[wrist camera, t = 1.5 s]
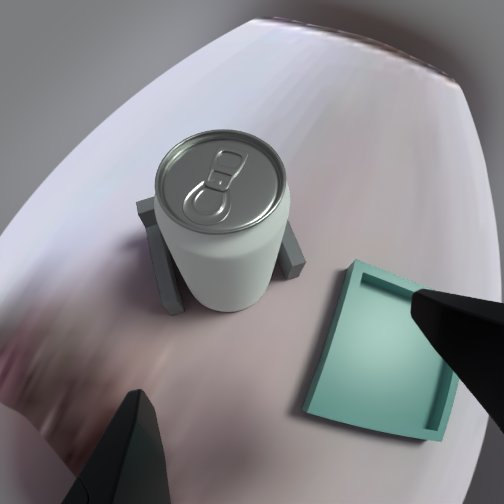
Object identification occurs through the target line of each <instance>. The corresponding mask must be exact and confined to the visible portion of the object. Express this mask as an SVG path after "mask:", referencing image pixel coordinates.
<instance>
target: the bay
mask: <svg viewBox="0 0 504 504" xmlns="http://www.w3.org/2000/svg"><path fill="white" fill-rule="evenodd" d="M154 198H155V196H154V197H151V198H148V199H145V200H141V201H138V202H136V205H137V211H138V215H139V217H140V219H141V221H142V222H143V224H144V226H145V228H146V233H147V238H148V243H149V248H150V253H151V258H152V262H153V267H154V271H155V276H156V280H157V284H158V289H159V293H160V297H161V301H162V305H163V307H164V308H165V309H166V310H167V311H168V312H169V313H170V314H171V315H176V314H179V313H182V312H185V311H184V307H183V304H182V300H181V297H180V293H179V289H178V285H177V282H176V278H175V274H174V270H173V266H172V262H171V258H170V254H169V250H168V246H167V244H166V242H165V240H164V237H163V235H162V233H161V231H160V228H159V226H158V223H157V220H156V216H155V210H154ZM277 258H278V261H279V263H280V266H281V268H282V271H283V273H284V276H285V278H286V280H289V279H292V278H295V277H298V276H299V274H300V272H301V271H302V269H303V267H304V265H305V263H306V261H305V258H304V256H303V254H302V251H301V249H300V247H299V244H298V242H297V240H296V238H295V235H294V233H293V231H292V228H291V226H290V224H289V222H288V219H287V223H286V227H285V231H284V234H283V238H282V242H281V245H280V249H279V252H278V256H277Z"/></svg>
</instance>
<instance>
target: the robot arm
mask: <svg viewBox="0 0 504 504" xmlns="http://www.w3.org/2000/svg"><path fill="white" fill-rule="evenodd" d="M410 314H411V317H412V319H413V321H414V322H415V323H416V325H417V326H418V327H419V329H420V330H421V332H422V333H423V334H424V336H425V337H426V338H427V340H428V341H429V343H430V344H431V345H432V347H433V348H434V349H435V351H436V352H437V353H438V354H439V355H440V356H441V358H442V359H443V360H444V361H445V362H446V363H447V364H448V366H449V367H450V368H451V369H452V370H453V371H454V373H455V374H456V375H457V376H458V377H459V379H460V380H461V381H462V382H463V383H464V384H465V386H466V387H467V388H468V389H469V390H470V392H471V393H472V394H473V395H474V397H475V398H476V399H477V400H478V402H479V403H480V404H481V405H482V406H483V408H484V409H485V410H486V412H487V413H488V414H489V415H490V417H491V418H492V419H493V420H494V422H495V423H496V424H497V426H498V427H500V430H501V431H502V432H503V434H504V303H499V302H494V301H488V300H483V299H477V298H472V297H466V296H461V295H456V294H450V293H445V292H439V291H434V290H429V289H419V290H417V291H415V292H414V293H413V294H412V298H411V310H410ZM61 504H171V502H170V495H169V487H168V480H167V471H166V463H165V455H164V450H163V446H162V441H161V436H160V432H159V427H158V422H157V417H156V412H155V409H154V407H153V405H152V403H151V402H150V400H149V399H148V397H147V396H146V394H145V392H144V391H143V390H142V389H137V390H132V391H129V392H128V393H127V395H126V396H125V398H124V400H123V401H122V403H121V405H120V406H119V408H118V410H117V411H116V413H115V414H114V416H113V418H112V419H111V421H110V423H109V424H108V426H107V428H106V429H105V431H104V433H103V434H102V436H101V438H100V439H99V441H98V443H97V444H96V446H95V448H94V449H93V451H92V453H91V454H90V456H89V458H88V460H87V461H86V463H85V465H84V466H83V468H82V470H81V471H80V473H79V477H77V478H76V480H75V482H74V483H73V485H72V487H71V488H70V490H69V492H68V494H67V495H66V497H65V499H64V500H63V501H62V503H61Z"/></svg>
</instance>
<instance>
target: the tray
mask: <svg viewBox="0 0 504 504" xmlns="http://www.w3.org/2000/svg"><path fill="white" fill-rule="evenodd" d="M419 289H429V290H432V289H430V288H428V287H425V286H423V285H420V284H418V283H415V282H413V281H410V280H408V279H405V278H403V277H400V276H398V275H395V274H393V273H390V272H388V271H385V270H383V269H380V268H378V267H375V266H372V265H370V264H367V263H365V262H362V261H360V260H357V259H355V260H354V262H353V263H352V264H351V265H350V266H349V267H348V268H347V272H346V276H345V279H344V283H343V286H342V290H341V294H340V297H339V300H338V304H337V307H336V310H335V314H334V317H333V320H332V323H331V327H330V330H329V333H328V336H327V339H326V342H325V345H324V348H323V351H322V354H321V357H320V360H319V363H318V366H317V369H316V371H315V374H314V377H313V380H312V383H311V385H310V388H309V391H308V393H307V396H306V399H305V401H304V404H303V406H302V409H301V410H302V411H305V412H307V413H310V414H313V415H317V416H320V417H324V418H328V419H331V420H335V421H339V422H343V423H346V424H350V425H355V426H359V427H363V428H367V429H372V430H376V431H381V432H386V433H391V434H396V435H401V436H407V437H413V438H419V439H425V440H432V441H439V442H442V439H443V436H444V433H445V430H446V426H447V423H448V420H449V416H450V413H451V409H452V406H453V402H454V398H455V394H456V390H457V386H458V381H459V377H458V376H457V375H456V374H455V373H454V371H453V370H452V369H451V368H450V367H449V366H448V364H447V363H446V362H445V361H444V360H443V359H442V358H441V356H440V355H439V354H438V353H437V352H436V351H435V349H434V348H433V347H432V345H431V344H430V343H429V341H428V340H427V338H426V337H425V336H424V334H423V333H422V332H421V330H420V329H419V327H418V326H417V325H416V323H415V322H414V321H413V319H412V317H411V314H410V310H411V298H412V294H413V293H414V292H415V291H417V290H419ZM434 291H435V290H434Z"/></svg>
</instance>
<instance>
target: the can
mask: <svg viewBox="0 0 504 504" xmlns="http://www.w3.org/2000/svg"><path fill="white" fill-rule="evenodd" d="M289 209H290V192H289V188H288V184H287V182H286V172H285V168H284V165H283V163H282V161H281V159H280V157H279V156H278V154H277V153H276V152H275V150H274V149H273V148H272V147H271V146H270V145H268V144H267V143H266V142H264V141H263V140H261V139H259V138H258V137H256V136H253V135H251V134H248V133H245V132H241V131H236V130H224V129H222V130H211V131H205V132H201V133H198V134H195V135H193V136H190V137H188V138H186V139H185V140H183V141H181V142H180V143H178V144H177V145H176V146H174V147H173V148H172V149H171V150H170V151H169V152H168V153H167V154H166V156H165V157H164V158H163V160H162V161H161V163H160V165H159V167H158V170H157V173H156V177H155V198H154V210H155V216H156V220H157V223H158V226H159V228H160V231H161V233H162V235H163V237H164V240H165V242H166V244H167V246H168V248H169V250H170V252H171V254H172V256H173V258H174V260H175V262H176V264H177V266H178V268H179V270H180V272H181V274H182V276H183V278H184V280H185V282H186V284H187V286H188V288H189V289H190V291H191V293H192V294H193V295H194V297H195V298H196V299H197V300H198V301H199V302H200V303H201V304H202V305H204V306H206V307H208V308H210V309H213V310H217V311H222V312H235V311H240V310H243V309H245V308H248V307H249V306H251V305H253V304H254V303H255V302H257V301H258V300H259V299H260V298H261V297H262V295H263V294H264V292H265V291H266V289H267V287H268V284H269V282H270V279H271V276H272V272H273V269H274V266H275V262H276V259H277V256H278V252H279V249H280V245H281V242H282V238H283V234H284V231H285V227H286V223H287V219H288V215H289Z"/></svg>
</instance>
